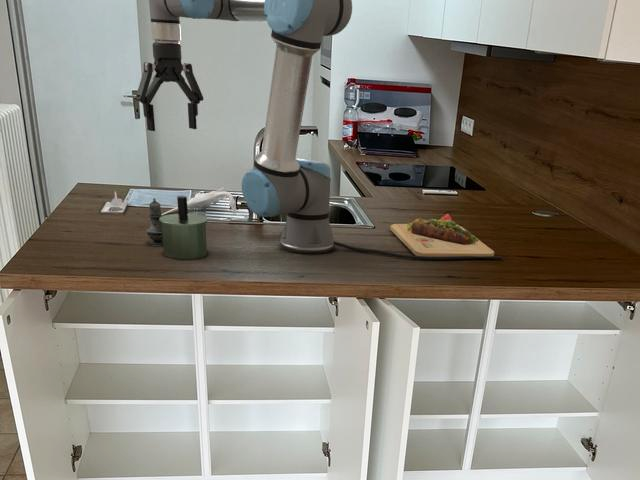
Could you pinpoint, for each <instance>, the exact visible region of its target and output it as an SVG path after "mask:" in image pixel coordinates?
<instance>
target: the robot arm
mask: <svg viewBox="0 0 640 480" xmlns="http://www.w3.org/2000/svg"><path fill="white" fill-rule="evenodd" d="M148 5H149V16H150V17H149V18H150V27H151V28H150V29H151V39H152V40H153V41H154V42H152V44H151V45H152V57H153V59H154V61H153V63H151V62H146V61H145V62H143V72H142V75H141V78H140V82H139V85H138V88H137V91H136V95H135V101H136V102H139V103H141V104H142V110H143V117H144V118H146V127H147V131H150V132H156V125H155V112H154V111H155V110H154V104H151V103H152V101H153V99H154V97H155V96H156V94H157V92H158V91H159V89H160V87H161V85H163V83H170V82H172V83H176V84H177V85H178V87H179V88H180V89H181V91H182V92H183V94H184V96H186V98H187V100H188V101H189V102H187V115H188V117H187V118H188V129H191V130H197V127H198V126H197V125H198V124H197V117H198V115H199V106H198V105H200V103H201V102H203V101H204V95H203V93H202V91H201V89H200V86H199V84H198V81H197V79H196V77H195V74H194V70H193V64H192V63H189V62H188V63H186V62H184V63H182V58H183V54H182V53H183V51H182V45H181V44H180V42H181V41H182V35H181V34H182V33H181V20H180V18H186V19H194V20H196V19H197V20H201V19H202V20H219V21H230V22H253V23H254V22H256V23H267V25H268V27H269V28H270V29H271V34H270V38H271V40H272V41H273V43H274V45H275V52H274V60H273V68H272V74H271V81H270V89H269V97H268V103H267V111H266V118H265V125H264V133H263V139H262V147H261V151H260V152H258V153H257V154H255V156H254V159H253V166H252V167H253V168H252V169H249V170H248V171H246V173H244V175H243V177H242V179H241V194H242V197H243V200H244V201H245V204H246V205H247V208H248V209H249V210H250V211H251V212H252V213H253V214H254V215H256V216H257V217H260V218H261V217H262V218H268V217H270V218H275V217H277V216H280V215H286V221H285V223H284V227H283V231H282V234H281V236H280V247H281V248H282V249H283V250H285V251H288V252H291V253H296V254H309V255H310V254H311V255H313V254H314V255H315V254H316V255H317V254H324V253H325V254H326V253H329V252H332V251H334V249H335V246H338V247H341V248H345V249H347V250H349V251H354V252H361V253H369V254H378V255H384V256H389V257H395V258H401V259H410V260H411V259H412V260H426V261H427V260H429V261H448V260H449V261H451V260H452V261H453V260H502V259H503V256H502V255H494V256H447V257H429V256H416V255H413V254H412V255H411V254H402V253H395V252H390V251H383V250H377V249H368V248H360V247H355V246H350V245H348V244H345V243H341V242H339V241H335V238H334V235H333V231H332V228H331V223H330V200H331V199H330V198H331V181H332V179H331V168H330V165H329V164H328V163H326V162H322V161H318V160H312V159H304V158H297V157H296V156H297V150H298V145H299V139H300V134H301V127H302V121H303V114H304V109H305V103H306V97H307V93H308V92H307V90H308V86H309V79H310V75H311V74H310V73H311V67H312V61H313V56H314V55H315V54H316V53H318V52H319V51H320V50H321V47H322V41H323V37H330V36H334V35H338V34H340V33H341V32H342V31H343V30H344V29H345V28H346V27H347V26H348V24H349V23H350V21H351V18H352V14H353V1H352V0H148ZM154 72H155V74H154V76H153V73H154ZM182 72H183V73H184V76H185V77H184V76H183V75H182ZM152 77H153V78H152ZM151 80H152V81H151ZM186 80H187V82H186Z"/></svg>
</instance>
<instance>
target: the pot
mask: <svg viewBox="0 0 640 480" xmlns="http://www.w3.org/2000/svg"><path fill="white" fill-rule="evenodd" d="M206 224H207V222H206V223H205V224H202V225H197V226H172V225H167V224H163V223H162V235H163V246H162V247H163V255H164V256H165V257H167V258H170V259H175V260H196V259H197V260H198V259H202V258H205V257H206V256H207V255H208V246H207V243H208V242H207V225H206Z"/></svg>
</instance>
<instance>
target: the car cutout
mask: <svg viewBox="0 0 640 480" xmlns="http://www.w3.org/2000/svg"><path fill="white" fill-rule="evenodd" d="M128 205H129V202H127V201H123V199H121V198H118V194H117V191H116V190H114V198H112V199H111V201H106V202H105V204H104V206H103V207H102V209H101V210H100V214H115V215H117V214H118V215H122V214H123V215H124V213H125V210H126V209H127V207H128Z"/></svg>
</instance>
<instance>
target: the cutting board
mask: <svg viewBox="0 0 640 480" xmlns="http://www.w3.org/2000/svg"><path fill="white" fill-rule="evenodd" d="M389 228H390V231H391V232H392V233H393V234H394V235H395V236H396V237H397V238H398V239H399V240H400V241H401V242H402V243H403V244H404V245H405V246H406V247H407V248H408V250H409V251H410V252H411V253H412V254H413V255H414V256H429V257H447V256H495V251H494V250H493V249H492V248H490V247H489V246H487V245H486V244H485V243H483V242H482V241H481V240H480V239H479V238H478V237H477V236H475V235H473V234H472V233H471V232H470V231H469V230H468V229H465V228H464V227H463V226H461V225H459V224H457V223H456V222H455V221H453V220H452V216H451V215H450V214H449V213H446V214H445V215H443V216H442V217H441V218H440V219H437V218H435V219H434V218H430V219H427V220H426V219H422V218H420V217H417V218H415V219H414V220H413V222H409V223H392V224H391V225H390V227H389Z"/></svg>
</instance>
